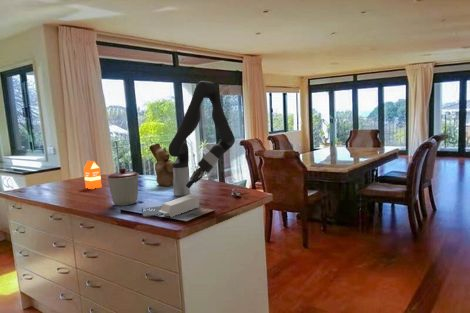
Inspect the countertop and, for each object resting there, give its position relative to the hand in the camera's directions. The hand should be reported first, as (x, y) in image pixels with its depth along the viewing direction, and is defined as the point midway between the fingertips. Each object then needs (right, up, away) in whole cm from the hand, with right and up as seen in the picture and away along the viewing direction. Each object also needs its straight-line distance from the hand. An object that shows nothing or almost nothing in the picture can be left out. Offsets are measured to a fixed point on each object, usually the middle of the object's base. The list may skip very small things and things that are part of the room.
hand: (187, 187), depth 186 cm
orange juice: (-79, -7, +74) cm, 109 cm away
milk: (+4, -7, -1) cm, 8 cm away
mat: (-11, -12, -2) cm, 17 cm away
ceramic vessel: (-26, -4, +71) cm, 76 cm away
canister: (-38, -11, +18) cm, 43 cm away
